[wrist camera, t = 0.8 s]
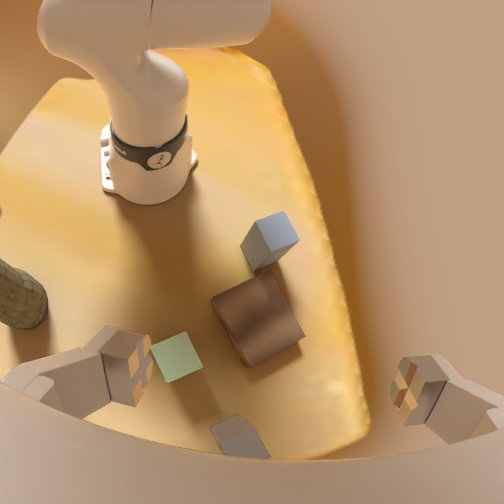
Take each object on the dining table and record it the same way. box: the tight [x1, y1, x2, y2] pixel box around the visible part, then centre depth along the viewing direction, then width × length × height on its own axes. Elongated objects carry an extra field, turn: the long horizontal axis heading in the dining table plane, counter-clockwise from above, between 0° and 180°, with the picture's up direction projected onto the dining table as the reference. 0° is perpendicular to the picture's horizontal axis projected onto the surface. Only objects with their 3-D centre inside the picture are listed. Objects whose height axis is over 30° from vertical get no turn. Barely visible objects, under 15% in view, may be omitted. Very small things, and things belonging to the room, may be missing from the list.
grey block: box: [210, 414, 270, 459], centre depth 37 cm, size 5×5×10 cm
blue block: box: [240, 211, 300, 271], centre depth 48 cm, size 5×5×10 cm
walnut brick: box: [211, 270, 305, 368], centre depth 47 cm, size 12×10×4 cm
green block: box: [151, 331, 203, 383], centre depth 39 cm, size 5×5×10 cm
